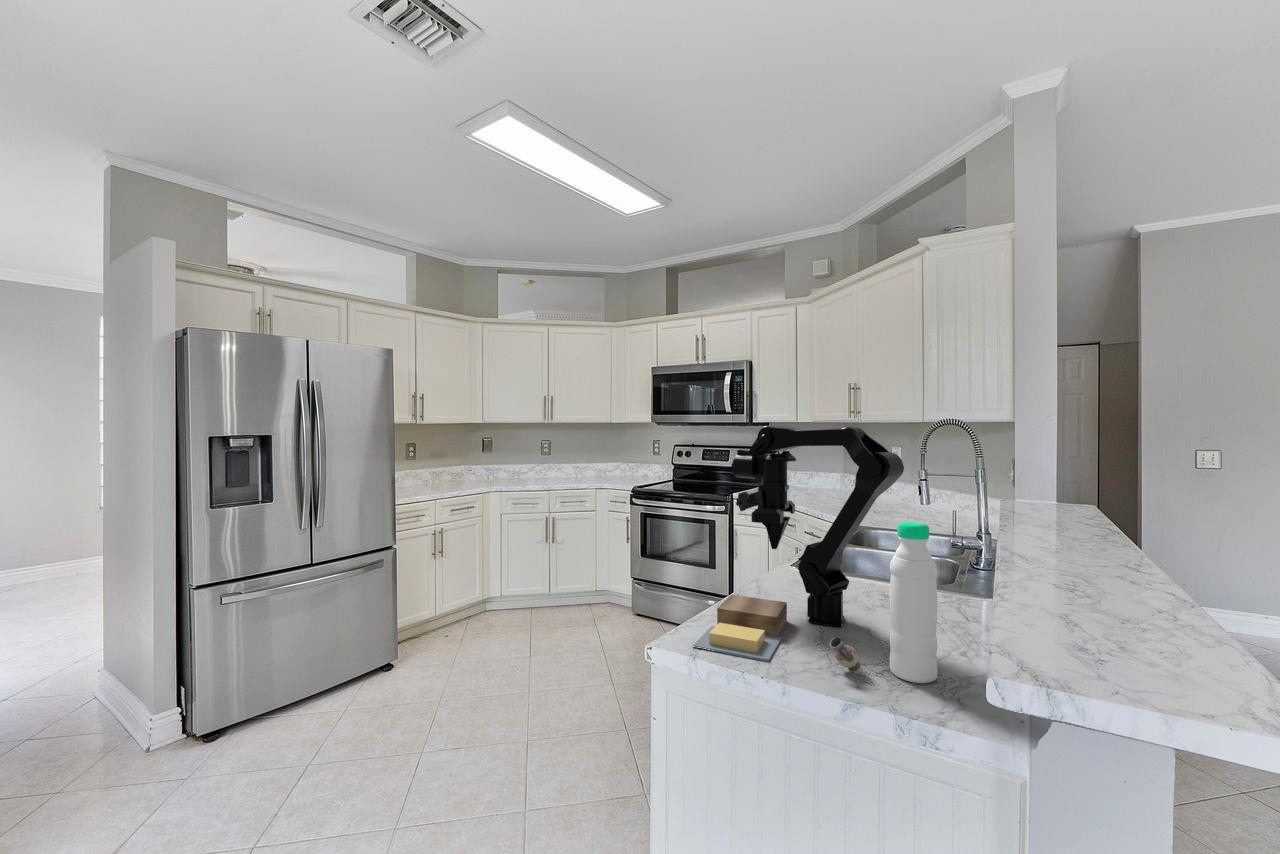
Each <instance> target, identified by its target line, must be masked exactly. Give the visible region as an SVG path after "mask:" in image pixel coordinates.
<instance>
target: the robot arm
mask: <svg viewBox="0 0 1280 854" xmlns="http://www.w3.org/2000/svg"><path fill="white" fill-rule="evenodd" d="M806 446H807V447H822V446H824V447H831V446H832V447H834V446H835V447H841V446H843V448H844V449H846V452H847V453H848V455H849V456H850V459H851V460H852V461H853V463H854V464H855V465H857V467H858V469H857V471H856V473H855V481H854V482H855V483H854V488H853V490H852V492H851V493H850V494H849V497H847V500H846V501H845V502H844V504H843V506H842V507H841V510H840V511H839V512H838V514H837V516H836V518H835V519H834V521H833V522H832V524H831V525H830V527H829V529H828V531H827V532H826V534H825V536H824V537H823V538H822V540H821V541H818V542H814V543H810V544H807V545H806V547H805V548H804V551H803V553H802V554H801V556H800V557H798V559H797V560H798V561H799V563H798V565H797V570H798V573H799V576H800V578H801V580H802V583H803V585H804V586H803V587H804V590H805V593H807V594H809V595H808V597H807V613H806V614H807V616H806V617H807V618H808V623H811V624H816V625H822V626H830V627H835V628H837V627H838V628H842V626H843V623H844V619H845V616H844V591H847V589H848V587H849V584H850V580H849V579H848V578H847V577H846V575H845V574H844V572H842V570H841V569H840V567H841V566H842V562H843V552H844V550H845V548H846V547H847V545H848V544H849V542H850V541H851V539H852V538H853V536H854V534H855V533H856V531H857V529H858V528H859V527H860V525H861V523H862V522H863V521H864V519H865V518H866V516H867V514H868V513H869V512H870V509H871V508H872V506H873V504H874V503H875V502H876V500H877V499H878V498H879V497H880V496H881V495H883V493H884V492H885V491H887V490H888V489H889V488H891V487H892V486H893V485H894V484H895V483H896V482H897V481H898V479H900V477H901V476H903V473H904V470H905V466H904V462H903V460H902V458H901V457H900V456H899V455H898V454H896V453H894V452H891V451H889V450H888V448H886V447H885V446H884V445H883V444H881V443H879V442H878V441H877V440H876V439H873V438H872V437H870V436H869V434H867V433H866V432H865V431H864V430H863V429H862V428H860V427H858V426H846V427H843V428H842V427H840V428H817V429H816V428H815V429H814V428H813V429H801V428H796V427H790V426H784V425H765V426H762V427H761V428H760V429H759V430H758V433H757V437H756V438H755V440H754V442H753V444H752V445H751V447H750V448H749V450H748V449H737V450H736V452H737V454H736V455H735V456H734V458H733V459H732V463H731V472H732V474H733V475H734V477H736V478H740V479H741V478H742V479H752V480H753V479H754V480H759V479H761V484H760V485H759V486H757V487H758V488H757V489H758V490H757V491H755V492H751V493H749V492H748V491H744V492H740V493H738V495H737V498H735V499H736V503H735V505H736V506H737V507H738V509H739V510H740V512H744V511H746V510H749V509H751V508H754V507H757V508H756V509H754V510H753V511H752V512H751V523H756V524H757V523H758V524H762V525H763V526H764V527H765V529H766V531H767V536H768V540H769V544H770V547H771V549H772V550H777V549H778V547H779V545H780V542H781V540H782V538H783V536H784V533H785V531H786V529H787V526H788V524H789V521H790V519H791V517H790V516H785V513H786V512H787V513H790V514H791V515H792V514H793V515H794V514H795V513H796V504H795V503H794V502H793V501H792V500H788V491H789V490H790V485H789V484H788V462H796V461H797V458H796V456H794V455H793V454H792V453H791V452H790V451H789V450H792V449H797V448H800V447H806ZM780 451H781V453H778V452H780ZM766 455H768V456H766Z"/></svg>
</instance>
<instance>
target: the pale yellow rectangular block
mask: <svg viewBox="0 0 1280 854" xmlns="http://www.w3.org/2000/svg"><path fill="white" fill-rule="evenodd" d="M764 641H765V630H760V629H754V628H749V627H743V626H737V625H731V624H725V623H718V624H716V625H715V627H714V628H713V629H712V630H711V631H710V633H709V644H714V645H719V646H724V647H730V648H735V649H740V650H746V651H751V652H756V653H757V652H758V650H759V649H760V647H761V646H762V644H763V643H764Z"/></svg>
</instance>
